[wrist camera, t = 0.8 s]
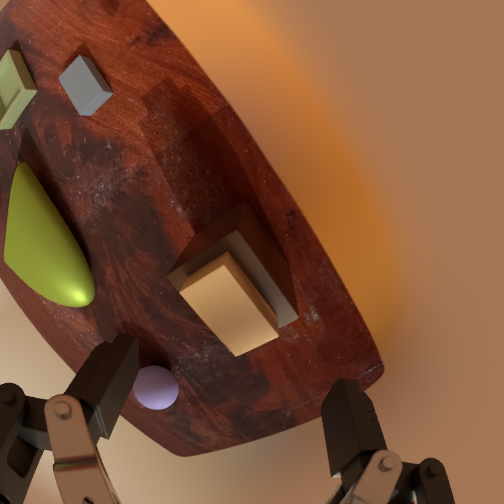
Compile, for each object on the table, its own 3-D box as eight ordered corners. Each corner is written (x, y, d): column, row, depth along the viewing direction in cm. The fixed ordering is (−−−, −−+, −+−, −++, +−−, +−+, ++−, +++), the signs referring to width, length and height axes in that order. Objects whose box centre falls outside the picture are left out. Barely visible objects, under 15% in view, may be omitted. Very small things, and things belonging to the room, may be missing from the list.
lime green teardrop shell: (-29, 235, 23) (61, 339, 30) (6, 163, 22) (109, 282, 29) (0, 222, 31) (80, 312, 37) (37, 161, 30) (126, 259, 36)
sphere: (189, 370, 40) (180, 404, 34) (173, 392, 42) (163, 423, 36) (149, 349, 39) (133, 381, 32) (136, 372, 41) (121, 402, 35)
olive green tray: (-6, 87, 24) (-17, 87, 21) (19, 51, 22) (8, 49, 20) (11, 128, 27) (-2, 129, 24) (37, 90, 25) (25, 89, 23)
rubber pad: (69, 80, 25) (57, 78, 23) (90, 58, 24) (79, 54, 22) (91, 116, 27) (79, 115, 25) (113, 93, 26) (103, 90, 24)
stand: (194, 233, 32) (165, 276, 22) (245, 199, 31) (237, 228, 20) (239, 292, 35) (231, 351, 25) (289, 264, 33) (300, 317, 23)
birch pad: (186, 276, 22) (178, 292, 20) (228, 250, 21) (223, 264, 19) (238, 338, 24) (235, 356, 22) (278, 317, 23) (279, 336, 21)
